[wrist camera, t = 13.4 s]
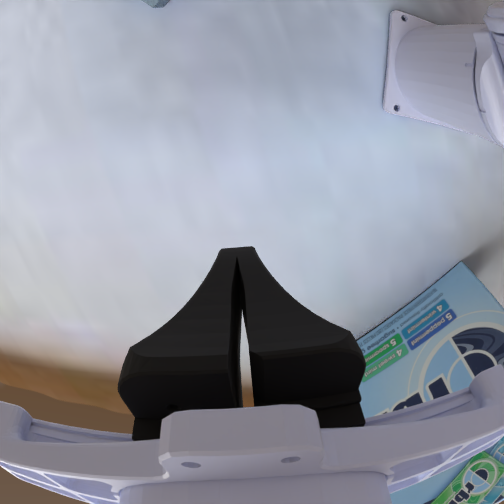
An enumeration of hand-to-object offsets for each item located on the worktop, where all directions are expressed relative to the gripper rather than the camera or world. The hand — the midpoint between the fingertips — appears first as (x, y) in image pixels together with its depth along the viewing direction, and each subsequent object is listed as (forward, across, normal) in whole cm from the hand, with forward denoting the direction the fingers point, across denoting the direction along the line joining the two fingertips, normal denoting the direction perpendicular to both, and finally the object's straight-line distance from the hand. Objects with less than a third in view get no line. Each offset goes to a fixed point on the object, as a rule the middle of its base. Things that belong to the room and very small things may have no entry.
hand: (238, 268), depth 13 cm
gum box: (+11, -16, +17) cm, 26 cm away
